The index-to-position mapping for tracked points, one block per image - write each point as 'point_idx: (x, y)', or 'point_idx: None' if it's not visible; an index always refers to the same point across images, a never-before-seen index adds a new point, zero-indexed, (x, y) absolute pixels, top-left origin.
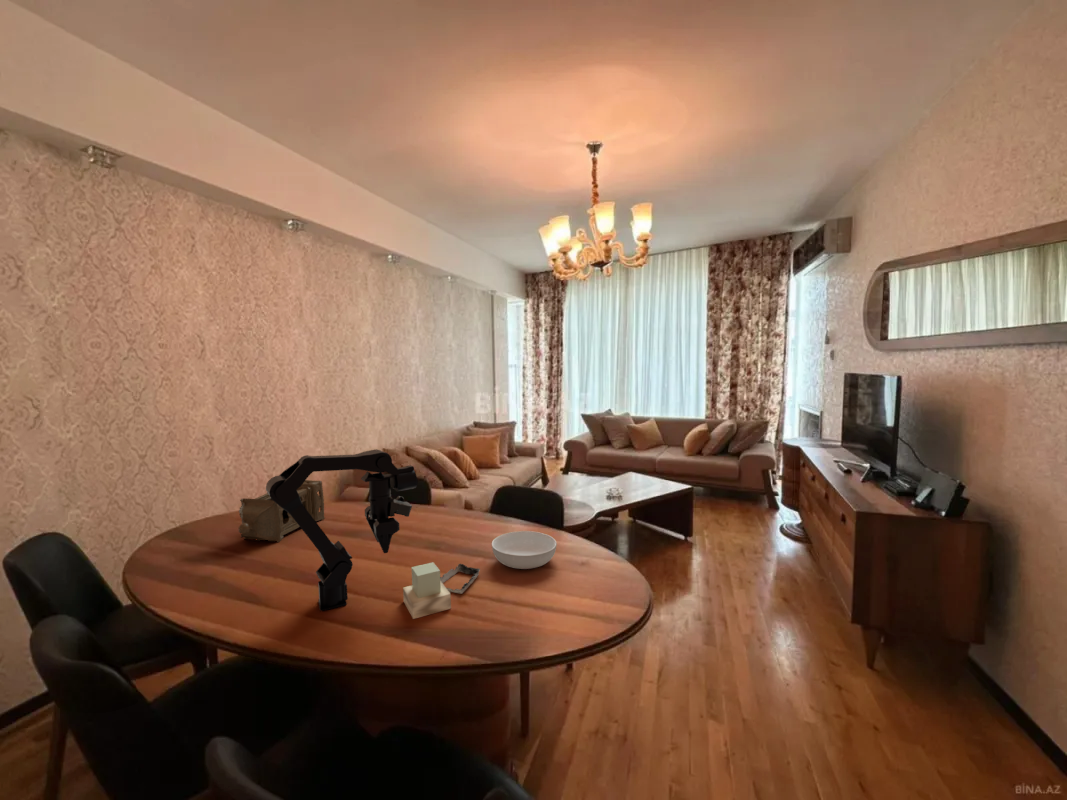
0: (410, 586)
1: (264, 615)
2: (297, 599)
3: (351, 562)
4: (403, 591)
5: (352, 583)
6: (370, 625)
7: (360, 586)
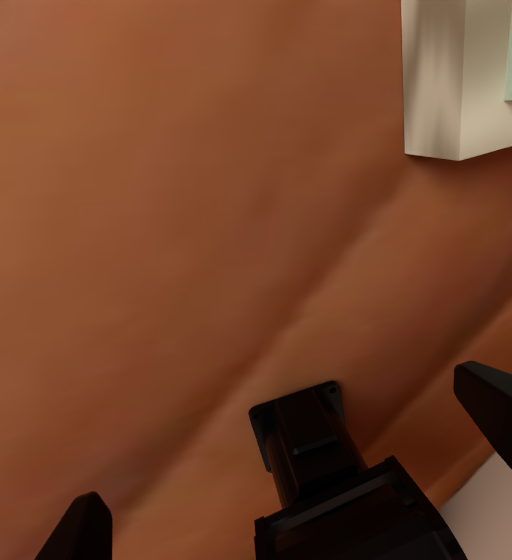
0: (470, 111)
1: None
2: (230, 522)
3: (440, 540)
4: (446, 157)
5: (139, 402)
6: (506, 275)
7: (180, 365)
